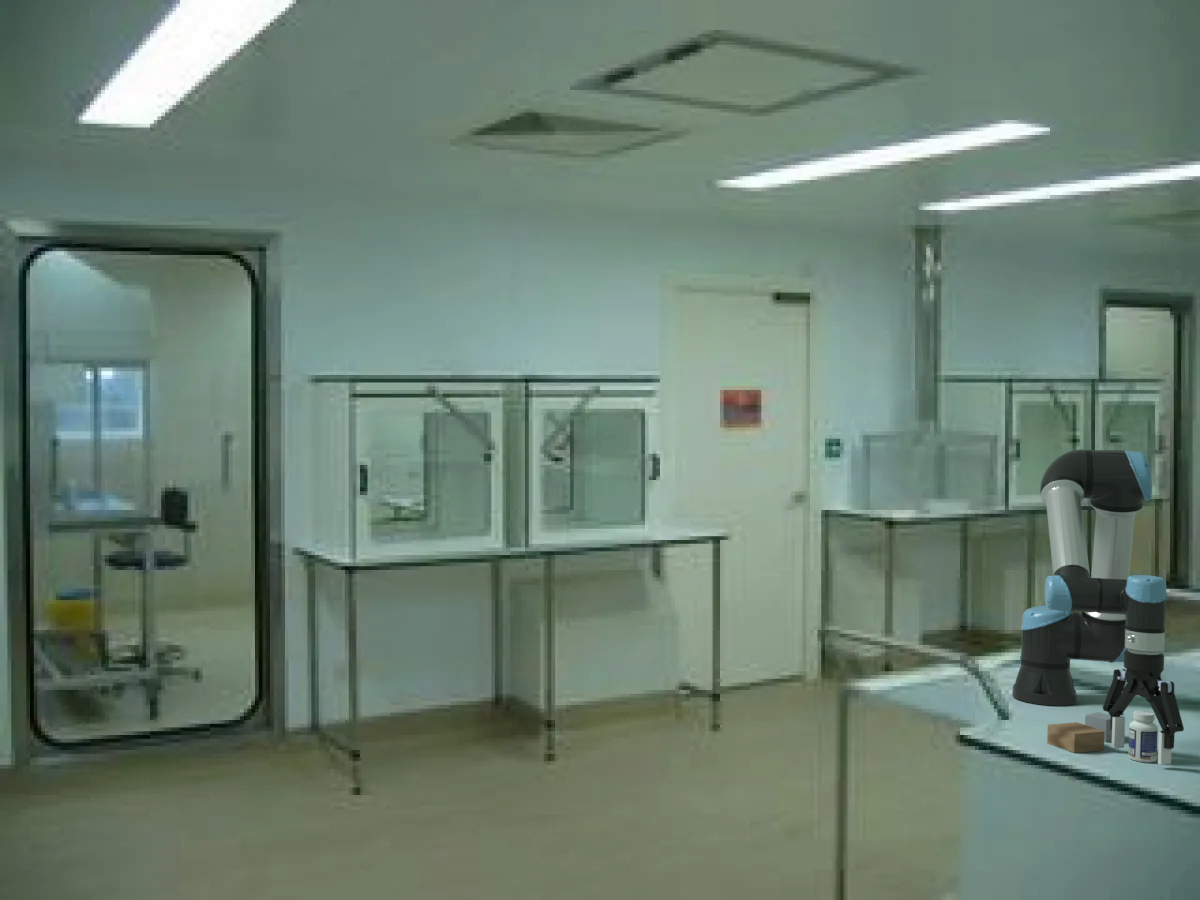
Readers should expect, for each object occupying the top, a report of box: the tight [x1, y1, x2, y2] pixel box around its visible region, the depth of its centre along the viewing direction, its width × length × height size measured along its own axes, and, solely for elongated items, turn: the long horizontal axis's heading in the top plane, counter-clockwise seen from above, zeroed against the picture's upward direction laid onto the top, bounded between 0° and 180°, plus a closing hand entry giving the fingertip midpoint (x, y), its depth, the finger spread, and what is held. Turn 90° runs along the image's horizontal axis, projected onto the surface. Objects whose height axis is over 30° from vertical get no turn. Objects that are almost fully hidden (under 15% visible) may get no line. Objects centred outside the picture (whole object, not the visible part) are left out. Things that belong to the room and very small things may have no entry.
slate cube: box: [1084, 711, 1112, 743], centre depth 265 cm, size 5×5×5 cm
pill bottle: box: [1127, 710, 1159, 764], centre depth 248 cm, size 5×5×10 cm
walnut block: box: [1046, 721, 1105, 754], centre depth 257 cm, size 8×8×4 cm
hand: (1140, 755), depth 248 cm, fingers open, 12 cm apart
